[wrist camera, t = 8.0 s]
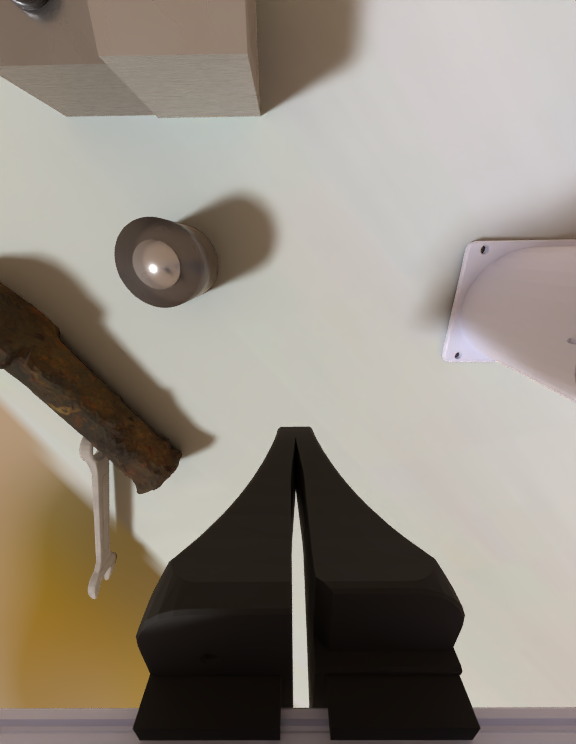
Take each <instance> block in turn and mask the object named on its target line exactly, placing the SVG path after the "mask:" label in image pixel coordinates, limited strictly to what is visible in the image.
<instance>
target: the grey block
mask: <svg viewBox="0 0 576 744" xmlns="http://www.w3.org/2000/svg"><path fill="white" fill-rule="evenodd" d="M87 3H88V8H89V13H90V17H91V22H92V27H93V32H94V37H95V41H96V46H97V51H98V56H99V57H100V58H101V59H102V60H103V61H104V62H105V63H106V64H107V65H108V66H109V67H110V68H111V69H112V71H113V72H114V73H115V74H116V75H117V76H118V77H119V78H120V79H121V80H122V81H123V82H124V83H125V84H126V85H127V86H128V87H129V88H130V89H131V90H132V91H133V92H134V93H135V94H136V95H137V96H138V97H139V98H140V99H141V100H142V101H143V102H144V104H145V105H146V106H147V107H148V108H149V109H150V110H151V111H152V112H153V113H154V114H155V115H156V116H157V117H158V118H172V117H234V116H260V91H259V66H258V41H257V16H256V0H87Z"/></svg>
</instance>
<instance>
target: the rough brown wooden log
mask: <svg viewBox="0 0 576 744" xmlns="http://www.w3.org/2000/svg"><path fill="white" fill-rule="evenodd" d="M59 334H60V333H59V328H58V327H57V326H56V325H55V324H54V323H52V322H51V321H50V320H49V319H48V318H47V317H46V316H45V315H43V314H42V313H41V312H40V311H39V310H37V309H36V308H35V307H34V306H32V305H31V304H29V303H28V302H27V301H25V300H24V299H22V298H21V297H20V296H18V295H17V294H15V293H14V292H13V291H11V290H10V289H8V288H6V287H5V286H3V285H2V284H0V369H5V370H6V371H7V372H8V373H10V374H11V375H12V376H13V377H15V378H17V379H18V380H19V381H20V382H22V383H23V384H24V385H25V386H27V387H28V388H29V389H30V390H31V391H32V392H33V393H34V394H35V395H36V396H38V397H39V398H40V399H41V400H42V401H43V402H44V403H46V404H47V405H48V406H49V407H50V408H51V409H52V410H54V411H55V412H56V413H57V414H58V415H59V416H60V417H62V418H63V419H64V420H65V421H66V422H67V423H68V424H70V425H71V426H72V427H73V428H74V429H75V430H77V431H78V432H79V433H80V434H81V435H83V436H84V437H85V438H86V439H87V440H88V441H89V442H90V443H91V444H92V445H93V446H94V447H95V448H96V449H97V450H98V451H100V452H101V453H103V454H104V455H105V456H106V457H107V458H108V459H109V460H111V461H112V462H113V463H114V464H115V465H116V466H117V467H118V468H119V469H120V470H122V472H123V473H125V475H127V476H128V477H129V478H131V479H132V480H133V482H134V483H135V485H136V488H137V493H138V494H143V493H146V492H148V491H151V490H155V489H157V488H159V487H160V486H161V485H162V484H163V482H164V481H165V480H166V479H167V478H169V477H170V476H171V474H172V473H174V471H175V470H176V469H177V467H178V465H179V461H180V458H181V456H182V451H179V450H174V449H172V448H170V443H169V439H161V438H160V437H158V436H157V435H156V434H155V433H154V432H153V431H152V430H151V429H150V428H149V427H148V426H147V425H146V424H145V423H144V422H143V421H141V420H140V419H139V418H138V417H137V416H136V415H135V414H134V413H133V412H132V411H131V410H130V409H129V408H128V407H127V406H126V405H125V404H124V403H123V402H122V401H121V398H120V396H119V395H117V394H115V393H113V392H112V391H111V390H110V389H109V388H108V387H107V386H106V385H105V384H104V382H103V381H102V380H100V379H99V378H98V377H96V376H95V375H94V374H93V373H92V372H91V371H90V370H89V369H88V368H87V367H86V366H85V365H84V364H83V363H82V362H81V361H80V360H79V359H78V358H77V357H76V356H75V355H74V354H73V353H72V352H71V351H70V350H69V349H68V348H67V347H66V346H65V345H64V344H63V343H62V342H61V341H60V339H59Z"/></svg>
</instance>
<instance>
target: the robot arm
mask: <svg viewBox="0 0 576 744" xmlns="http://www.w3.org/2000/svg"><path fill="white" fill-rule="evenodd" d="M483 246H485V251H484V252H483V253H481V248H482V247H483ZM458 352H459V355H458V356H457V357H455V354H456V353H458ZM442 358H443V359H444V360H445V361H447V362H493V361H497V362H499V363H501V364H503V365H505V366H507V367H509V368H511V369H513V370H515V371H517V372H519V373H521V374H522V375H524V376H526V377H528V378H530V379H532V380H534V381H536V382H538V383H540V384H542V385H544V386H545V387H547V388H549V389H551V390H553V391H555V392H557V393H559V394H561V395H563V396H565V397H567V398H569V399H570V400H572V401H574V402H576V239H566V240H502V241H473V242H471V243H469V244H468V246H467V247H466V250H465V254H464V258H463V263H462V267H461V272H460V276H459V281H458V285H457V290H456V294H455V299H454V303H453V308H452V312H451V316H450V321H449V325H448V330H447V334H446V339H445V343H444V348H443V352H442ZM295 492H296V494H297V502H298V510H299V518H300V526H301V534H302V542H303V553H304V576H305V601H306V627H307V653H308V681H309V708H293V658H292V557H291V554H292V534H293V520H294V506H295ZM464 617H465V614H464V611H463V608H462V605H461V603H460V601H459V599H458V597H457V595H456V593H455V591H454V589H453V587H452V586H451V584H450V582H449V581H448V579H447V577H446V576H445V574H444V572H443V571H442V569H441V568H440V566H439V564H438V563H437V561H436V560H435V559H434V558H433V557H431V556H430V555H429V554H427V553H426V552H424V551H423V550H422V549H420V548H419V547H417V546H416V545H415V544H413V543H412V542H410V541H409V540H407V539H406V538H405V537H403V536H402V535H401V534H400V533H398V532H397V531H396V530H395V529H393V528H392V527H391V526H390V525H388V524H387V523H386V522H385V521H384V520H383V519H382V518H381V517H380V516H378V515H377V514H376V513H375V512H374V511H373V510H372V509H371V508H370V507H369V506H368V505H367V504H366V503H365V502H364V501H363V500H362V499H361V498H360V497H359V496H358V495H357V494H356V493H355V492H354V491H353V490H352V489H351V487H350V486H349V485H348V484H347V483H346V482H345V480H344V479H343V478H342V477H341V475H340V474H339V473H338V471H337V470H336V469H335V468H334V466H333V465H332V463H331V462H330V460H329V459H328V457H327V456H326V454H325V453H324V451H323V450H322V448H321V446H320V444H319V443H318V441H317V439H316V437H315V435H314V433H313V430H312V429H311V428H310V427H280V428H279V429H278V431H277V434H276V437H275V440H274V442H273V444H272V446H271V448H270V450H269V452H268V454H267V456H266V458H265V459H264V461H263V463H262V464H261V466H260V468H259V469H258V471H257V472H256V474H255V475H254V477H253V478H252V480H251V481H250V483H249V484H248V485H247V487H246V488H245V489H244V490H243V492H242V493H241V494H240V496H239V497H238V498H237V499H236V500H235V501H234V502H233V504H232V505H231V506H230V507H229V508H228V509H227V510H226V511H225V513H224V514H223V515H222V516H221V517H220V518H219V519H218V520H217V521H216V522H214V523H213V524H212V525H211V526H210V527H209V528H208V529H207V530H206V531H205V532H204V533H203V534H202V535H201V536H200V537H199V538H198V539H196V540H195V541H194V542H193V543H192V544H190V545H189V546H188V547H187V548H186V549H184V550H183V551H182V552H181V553H180V554H178V555H177V556H176V557H175V558H173V559H172V560H171V561H170V562H169V563H168V565H167V567H166V569H165V570H164V572H163V574H162V576H161V578H160V580H159V582H158V584H157V586H156V587H155V589H154V591H153V593H152V596H151V598H150V600H149V603H148V605H147V608H146V611H145V613H144V616H143V618H142V621H141V624H140V626H139V629H138V632H137V635H136V639H137V644H138V647H139V650H140V652H141V654H142V656H143V659H144V661H145V663H146V665H147V667H148V669H149V672H150V677H149V680H148V683H147V686H146V689H145V692H144V695H143V698H142V701H141V704H140V707H139V708H93V709H92V708H91V709H89V708H79V709H78V708H74V709H73V708H72V709H71V708H61V709H60V708H57V709H55V708H52V709H51V708H50V709H49V708H48V709H0V744H576V707H497V708H472V705H471V703H470V700H469V698H468V695H467V693H466V690H465V688H464V686H463V683H462V681H461V678H460V676H459V675H461V673H462V668H461V665H460V662H459V660H458V657H457V655H456V653H455V650H454V648H453V647H454V644H455V642H456V640H457V637H458V635H459V633H460V631H461V628H462V626H463V622H464Z"/></svg>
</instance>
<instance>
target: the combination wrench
mask: <svg viewBox="0 0 576 744" xmlns="http://www.w3.org/2000/svg"><path fill="white" fill-rule="evenodd" d="M79 452H80V457H81V458H82V460H84V461H86V462H87V464H88V466H89V468H90V470H91V473H92V487H93V506H94V524H95V525H94V526H95V545H96V566H95V571H94V573H93V574H92V576H91V579H90V582H89V586H88V594H89V595H90V597H91V598H93V599H96V598H97V596H98V592H99V588H100V584H101V580H102V579H103V577H104V575H105V580H108V579H109V578H110V576H111V573H112V571H113V568H114V565H115V563H116V558H117V554H116V553H114V552H111V551H110V549H109V459H108V458H107V457H106V456H105V455H104V454H103V453H101V452H100V451H98V450H97V452H96V453H95V455H93V445H92V444H91V443H90V442H89V441H88V440H87V439H86V438H85V437H84V436H83V438H82V440H81V443H80V448H79Z"/></svg>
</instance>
